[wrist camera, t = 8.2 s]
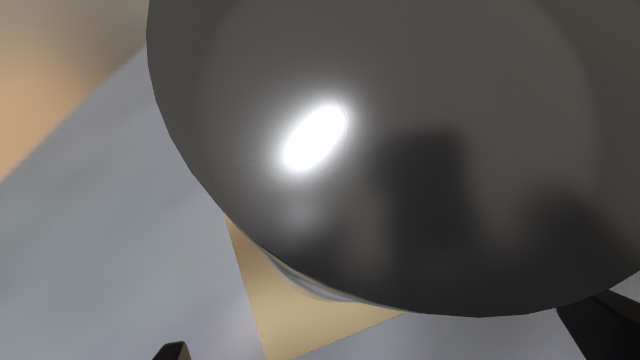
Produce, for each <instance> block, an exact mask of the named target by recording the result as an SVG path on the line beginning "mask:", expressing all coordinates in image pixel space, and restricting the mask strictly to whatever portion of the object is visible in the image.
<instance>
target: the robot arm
mask: <svg viewBox="0 0 640 360" xmlns="http://www.w3.org/2000/svg"><path fill="white" fill-rule="evenodd" d="M556 310H557V313H558V315H559V317H560V319H561V320H562V322H563V324H564V325H565V327H566V328H567V330H568V331H569V333H570V335H571V336H572V338H573V339H574V341H575V343H576V344H577V346H578V347H579V349H580V350H581V352H582V354H583V355H584V357H585V358H586V360H640V303H638V302H636V301H634V300H632V299H629V298H627V297H625V296H622V295H620V294H618V293H615V292H613V291H611V290H605V291H603V292H600V293H598V294H595V295H592V296H590V297H587V298H585V299H582V300H580V301H577V302H575V303H572V304H570V305H565V306H561V307H556ZM152 360H191V357H190V354H189V351H188V348H187V345H186V343H185V342H184V341H179V342H172V343H167V344H165V345H164V346H163V347H162V348H161V349H160V350H159V352H158V353H157V354H156V355H155V357H154V358H153V359H152Z"/></svg>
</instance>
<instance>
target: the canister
mask: <svg viewBox="0 0 640 360" xmlns="http://www.w3.org/2000/svg"><path fill="white" fill-rule="evenodd" d="M146 39H147V57H148V68H149V72H150V77H151V81H152V86H153V90H154V95H155V99H156V102H157V105H158V107H159V110H160V112H161V115H162V117H163V120H164V122H165V125H166V127H167V130H168V132H169V135H170V137H171V139H172V140H173V142H174V144H175V146H176V147H177V149H178V151H179V152H180V154H181V156H182V157H183V159H184V161H185V163H186V164H187V166H188V168H189V169H190V171H191V172H192V174H193V175H194V176H195V177H196V179H197V180H198V181H199V182H200V184H201V185H202V186H203V187H204V189H205V190H206V191H207V192H208V193H209V195H210V196H211V197H212V198H213V200H214V201H215V202H216V203H217V205H218V206H219V207H220V208H221V209H222V211H223V212H224V213H225V214H226V215H227V217H228V218H229V219H230V220H231V221H232V223H233V224H234V225H235V226H236V227H237V228H238V229H239V230H240V231H241V232H242V233H243V234H244V235H245V236H246V237H247V238H248V239H249V240H250V241H251V242H253V243H254V244H255V245H256V246H257V247H258V248H259V249H260V250H261V251H262V252H263V253H264V255H265V256H266V257H267V259H268V260H269V262H270V263H271V264H272V266H273V267H274V268H275V270H276V271H277V273H278V274H279V275H280V277H281V278H282V279H283V280H284V281H285V282H286V283H287V284H288V285H289V286H290V287H291V288H292V289H294V290H295V291H297V292H298V293H300V294H302V295H304V296H306V297H308V298H311V299H314V300H319V301H325V302H359V303H363V304H368V305H372V306H377V307H382V308H386V309H391V310H396V311H403V312H414V313H424V314H436V315H449V316H463V317H476V318H481V317H495V316H510V315H524V314H530V313H534V312H539V311H543V310H548V309H552V308H556V307H561V306H565V305H570V304H572V303H575V302H577V301H580V300H582V299H585V298H587V297H590V296H592V295H595V294H598V293H600V292H603V291H605V290H608V289H610V288H612V287H613V286H615V285H617V284H618V283H620V282H621V281H623V280H625V279H626V278H628V277H630V276H631V275H633V274H635V273H636V272H638V271H640V0H150V1H149V11H148V19H147V29H146Z"/></svg>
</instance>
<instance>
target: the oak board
mask: <svg viewBox="0 0 640 360" xmlns="http://www.w3.org/2000/svg"><path fill="white" fill-rule="evenodd" d="M223 214H224V217H225V221H226V224H227V228H228V231H229V234H230V238H231V241H232V245H233V248H234V251H235V255H236V258H237V262H238V265H239V269H240V272H241V275H242V279H243V282H244V286H245V289H246V292H247V296H248V299H249V303H250V306H251V309H252V313H253V316H254V320H255V323H256V327H257V330H258V333H259V337H260V340H261V344H262V347H263V350H264V354H265V357H266V360H291V359H293V358H296V357H298V356H301V355H303V354H306V353H308V352H311V351H313V350H315V349H318V348H320V347H323V346H325V345H328V344H330V343H332V342H335V341H337V340H340V339H342V338H345V337H347V336H350V335H352V334H354V333H357V332H359V331H362V330H364V329H367V328H369V327H371V326H374V325H376V324H379V323H381V322H384V321H386V320H388V319H391V318H393V317H396V316H398V315H401V314H403V313H406V312H403V311H396V310H391V309H386V308H382V307H377V306H372V305H368V304H363V303H359V302H325V301H319V300H314V299H311V298H308V297H306V296H304V295H302V294H300V293H298V292H297V291H295V290H294V289H292V288H291V287H290V286H289V285H288V284H287V283H286V282H285V281H284V280H283V279H282V278H281V277H280V275H279V274H278V273H277V271H276V270H275V268H274V267H273V266H272V264H271V263H270V262H269V260H268V259H267V257H266V256H265V255H264V253H263V252H262V251H261V250H260V249H259V248H258V247H257V246H256V245H255V244H254V243H253V242H251V241H250V240H249V239H248V238H247V237H246V236H245V235H244V234H243V233H242V232H241V231H240V230H239V229H238V228H237V227H236V226H235V225H234V224H233V223H232V221H231V220H230V219H229V218H228V217H227V215H226V214H225V213H224V212H223Z"/></svg>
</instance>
